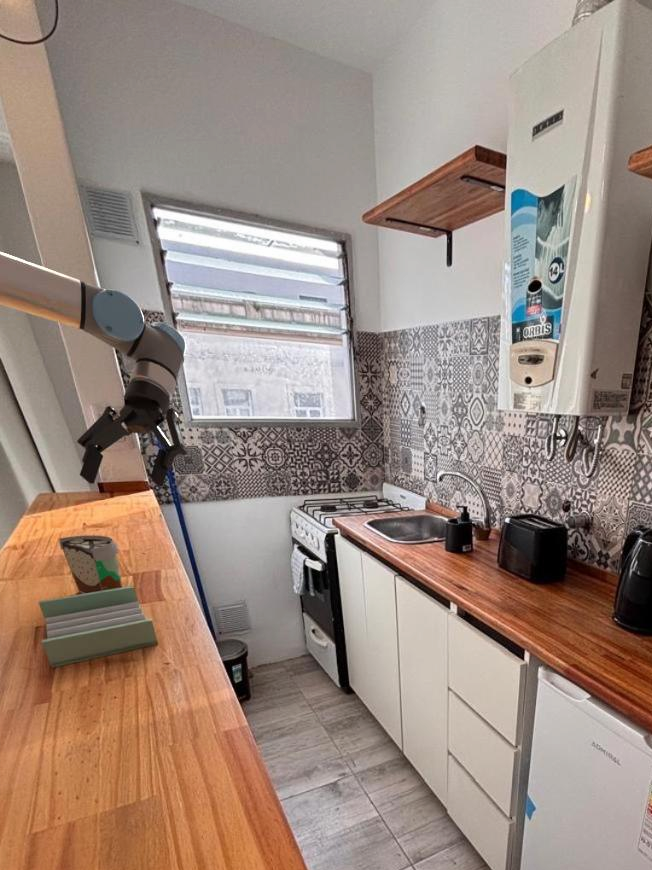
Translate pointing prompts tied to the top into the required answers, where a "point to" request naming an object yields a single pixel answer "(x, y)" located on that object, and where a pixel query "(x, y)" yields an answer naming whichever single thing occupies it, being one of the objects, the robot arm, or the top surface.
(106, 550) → the food container
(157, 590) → the top surface
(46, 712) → the top surface
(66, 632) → the dish rack
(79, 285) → the robot arm
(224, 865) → the top surface
